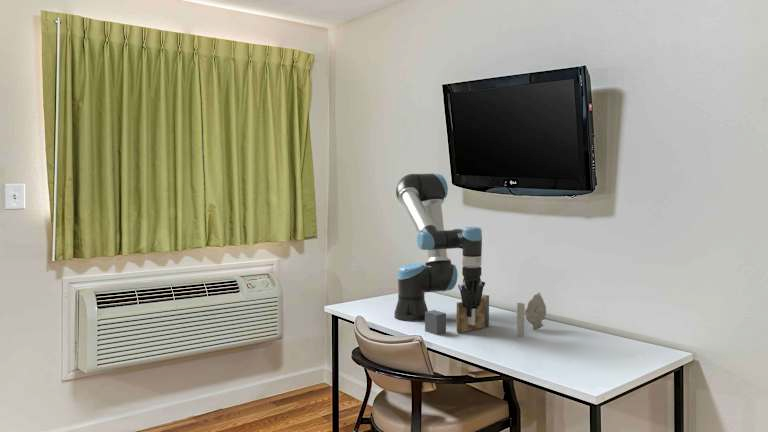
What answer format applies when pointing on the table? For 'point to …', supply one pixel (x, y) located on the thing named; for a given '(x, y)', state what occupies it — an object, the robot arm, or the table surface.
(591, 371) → the table surface
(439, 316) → the block
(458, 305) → the door
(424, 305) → the robot arm
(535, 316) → the stone tool
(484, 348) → the table surface
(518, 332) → the door frame
